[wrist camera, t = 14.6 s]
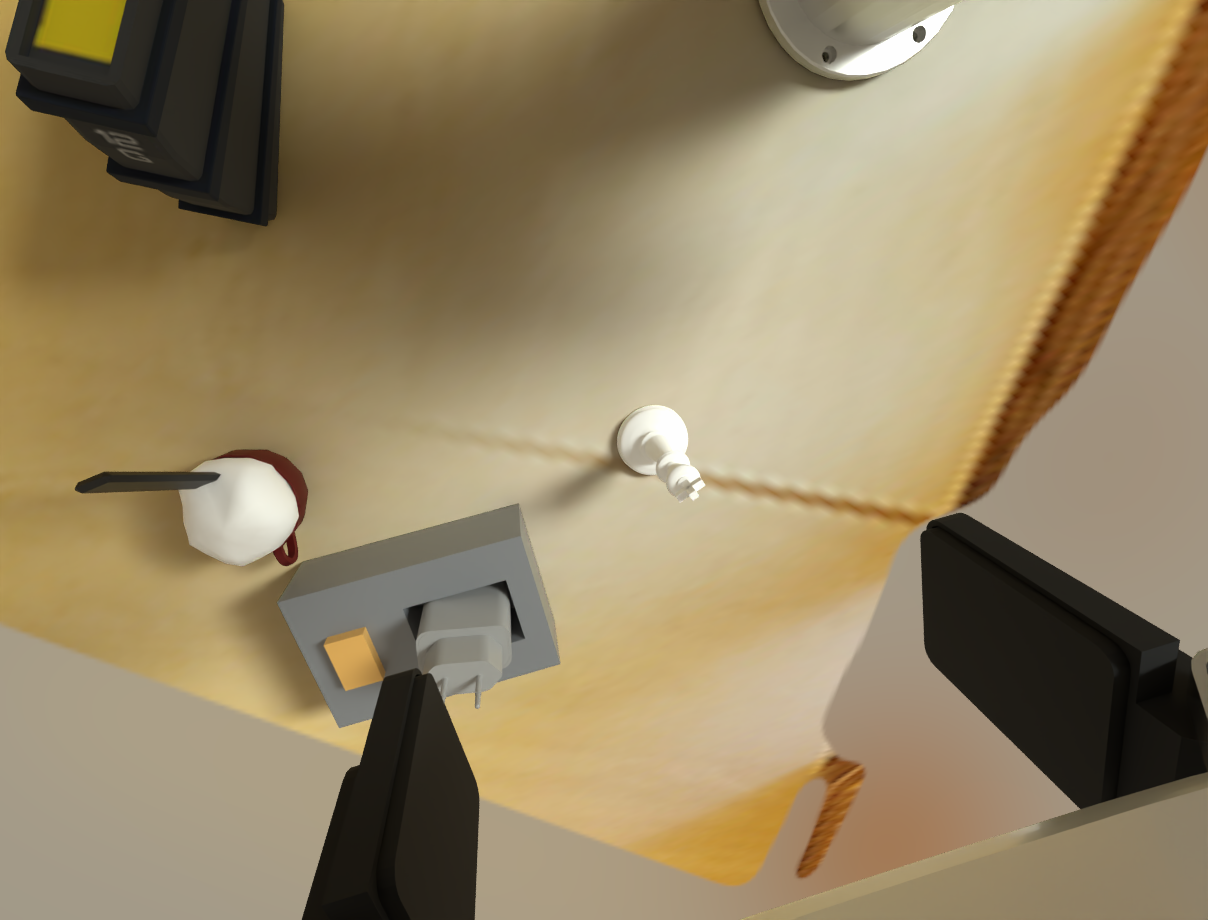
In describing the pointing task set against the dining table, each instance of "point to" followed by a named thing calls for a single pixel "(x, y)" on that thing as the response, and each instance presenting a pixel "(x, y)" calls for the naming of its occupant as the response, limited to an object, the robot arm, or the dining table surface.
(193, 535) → the cocoa
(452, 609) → the power adapter
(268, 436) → the dining table surface
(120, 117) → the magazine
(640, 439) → the chess piece
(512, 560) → the socket block
